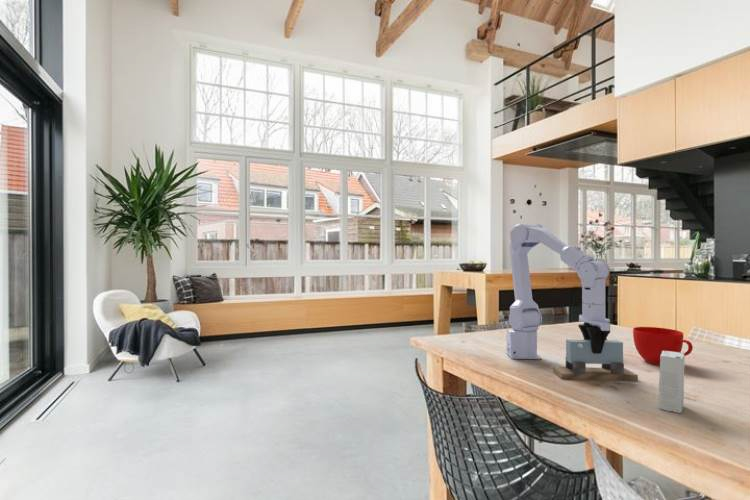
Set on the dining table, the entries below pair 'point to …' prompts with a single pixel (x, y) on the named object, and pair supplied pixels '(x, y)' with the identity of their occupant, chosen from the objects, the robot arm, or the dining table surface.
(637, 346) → the ceramic cup
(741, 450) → the dining table surface
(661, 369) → the skincare box
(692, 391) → the dining table surface
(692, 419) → the dining table surface
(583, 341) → the pale blue rectangular block
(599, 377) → the rail
